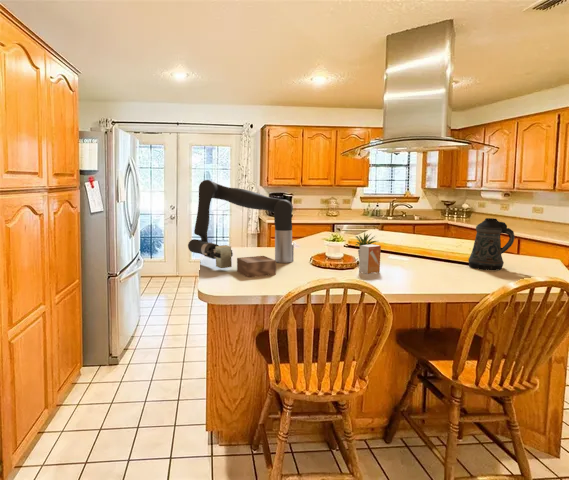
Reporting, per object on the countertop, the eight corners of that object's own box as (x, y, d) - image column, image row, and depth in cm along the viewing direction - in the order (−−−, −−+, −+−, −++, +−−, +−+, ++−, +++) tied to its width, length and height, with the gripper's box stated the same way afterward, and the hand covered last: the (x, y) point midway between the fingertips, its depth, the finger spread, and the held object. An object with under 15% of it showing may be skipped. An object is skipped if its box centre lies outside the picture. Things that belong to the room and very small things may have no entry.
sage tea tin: (226, 265, 224) (225, 245, 222) (231, 266, 219) (231, 246, 218) (216, 266, 221) (215, 246, 219) (221, 268, 216) (220, 247, 215)
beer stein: (462, 264, 239) (465, 217, 235) (499, 264, 239) (502, 217, 235) (476, 270, 222) (479, 220, 219) (515, 270, 222) (519, 220, 219)
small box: (367, 274, 214) (368, 247, 212) (358, 271, 219) (359, 245, 217) (380, 272, 218) (381, 245, 216) (370, 269, 223) (371, 243, 222)
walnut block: (263, 269, 225) (263, 255, 224) (275, 275, 213) (275, 260, 212) (237, 272, 219) (237, 257, 218) (247, 277, 206) (247, 262, 205)
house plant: (361, 265, 234) (362, 234, 231) (344, 261, 246) (345, 231, 243) (382, 263, 241) (383, 232, 239) (365, 258, 253) (365, 229, 250)
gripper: (197, 244, 226) (211, 248, 212) (223, 241, 234) (239, 246, 220) (198, 259, 227) (212, 264, 214) (223, 256, 235) (239, 261, 221)
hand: (225, 255), depth 217 cm, fingers closed on sage tea tin, 5 cm apart
